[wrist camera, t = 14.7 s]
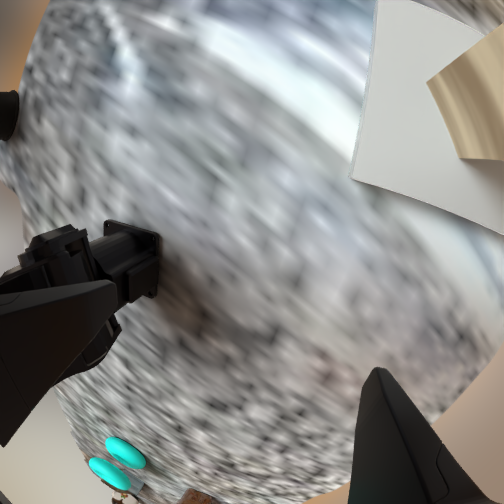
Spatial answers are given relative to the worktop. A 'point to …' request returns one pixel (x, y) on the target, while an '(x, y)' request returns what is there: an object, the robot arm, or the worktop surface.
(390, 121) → the light grey slab
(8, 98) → the aerosol can
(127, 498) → the spread jar
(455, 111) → the birch block
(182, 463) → the worktop surface
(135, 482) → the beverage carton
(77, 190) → the worktop surface
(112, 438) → the donuts
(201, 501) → the food item
